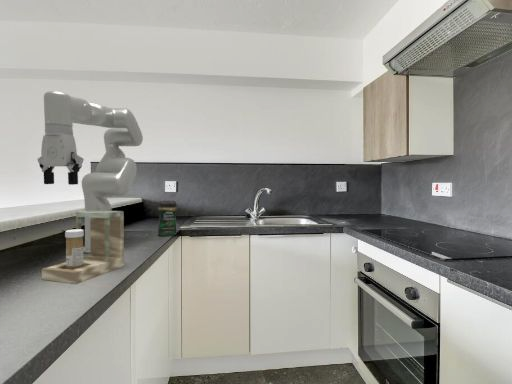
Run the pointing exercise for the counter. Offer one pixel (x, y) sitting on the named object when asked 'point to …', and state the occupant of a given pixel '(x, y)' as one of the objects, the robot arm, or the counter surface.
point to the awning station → (95, 248)
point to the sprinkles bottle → (74, 248)
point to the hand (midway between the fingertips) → (61, 184)
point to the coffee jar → (167, 218)
